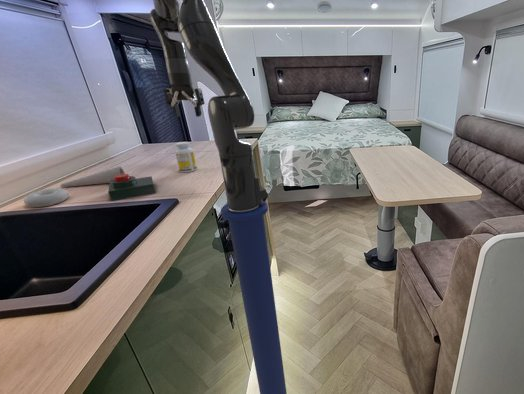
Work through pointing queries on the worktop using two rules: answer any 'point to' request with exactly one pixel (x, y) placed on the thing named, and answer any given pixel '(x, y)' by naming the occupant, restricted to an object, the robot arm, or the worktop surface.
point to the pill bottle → (185, 157)
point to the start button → (121, 177)
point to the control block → (131, 188)
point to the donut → (46, 197)
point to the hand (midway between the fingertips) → (188, 116)
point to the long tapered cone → (95, 178)
